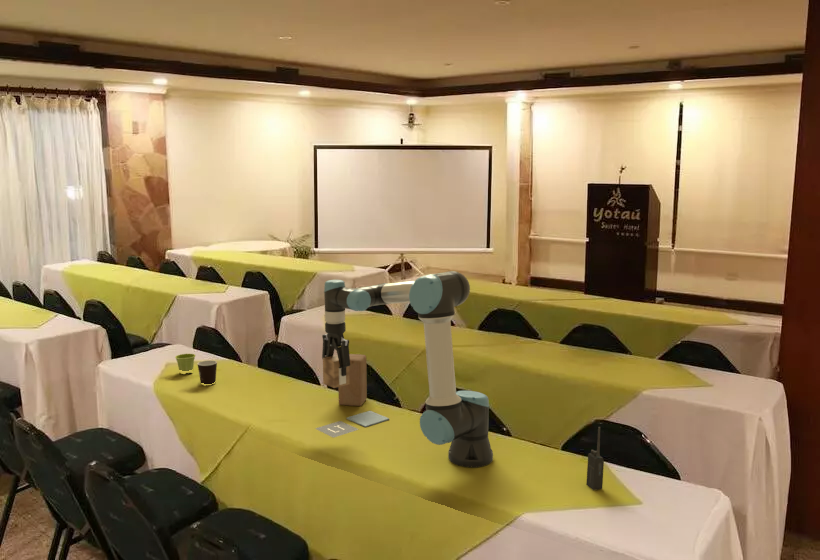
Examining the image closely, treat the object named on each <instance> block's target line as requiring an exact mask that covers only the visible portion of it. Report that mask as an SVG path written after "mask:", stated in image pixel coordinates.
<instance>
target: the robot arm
mask: <svg viewBox="0 0 820 560" xmlns="http://www.w3.org/2000/svg"><path fill="white" fill-rule="evenodd" d="M345 283H346V282H345V281H344V280H342V279H329V280H326V281H324V286H323V287H324V290H323V294H324V296H323V297H324V321H325V323H324V332H325V333H326V334H322V354H321V358H322V360H323V358H325V357H330V356H334V355H335V354H334V353H335V351H336V355H338V359H339V364H340V367H339V385H342V384H346V367H347V366H350V356H349V354H350V347H349V346H350V340H349V339H345V336H344V333H345V332H346V310H352V311H355V312H365V311H366V310H367V309H368V308H370V307H374V306H380V305H392V304H405V303H409V304H410V306H411V307H412V309H413V310H414V311H415V312H416V313H417V315H418V319H419V320H420V321H421V322H422V323H423V331H424V342H425V343H424V344H425V355H426V366H427V367H426V368H427V379H428V391H429V393H428V394H429V396H428V397H427V399H426V400H425V411H423V413H422V414H421V416H420V418H419V427H420V430H421V432H422V434H423V436H424V437H426V440H428V441H429V442H431V443H432V444H435V445H438V446H441V445H445V444H448V443H451V444H450V446H449V449H448V453H447V455H448V456H447V457H448V460H449V462H450V463H452V464H454V465H457V466H459V467H463V468H481V467H485V466H488V465H490V464H491V463H492V462H493V460H494V452H493V449H492V447H491V443H490V439H489V421H490V420H489V417H490V416H489V414H490V411H489V409H490V403H489V402H490V401H489V397H488V395H486V394H484V393H482V392H479V391H474V390H458V391H457V388H456V376H455V375H456V374H455V361H454V350H453V337H452V336H453V334H452V324H451V321H452V320H453V318H454V317H455V314H456V313H455V307H458V306H460V305H462V304H464V303H465V302H466V300H467V299H468V298H469V295H470V293H471V285H470V282H469V280H468V279H467V277H466V276H465V275H464V274H462V273H461V272H459V271H453V270H451V271H449V270H448V271H445V272H438V273H430V274H426V275H422V276H420V277H418V278H416V279H415V280H407V281H398V282H391V283H390V282H389V283H388V282H387V283H378V284H373V285H369V286H361V287H355V288H354V287H353V288H352V287H346V284H345Z"/></svg>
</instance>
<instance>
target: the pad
mask: <svg viewBox="0 0 820 560" xmlns="http://www.w3.org/2000/svg"><path fill="white" fill-rule="evenodd" d="M346 420H348V421H349V422H353V423H355V424H357V425H359V426H362V427H363V428H368V427H371V426H374V425H377V424H380V423H383V422H386V421H390V418H389V417H387V416H385V415H382V414H379V413H377V412H374V411H372V410H368V411H363V412H360V413H357V414H354V415H352V416H351V415H350V416H348V417H346Z"/></svg>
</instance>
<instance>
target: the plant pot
mask: <svg viewBox="0 0 820 560" xmlns="http://www.w3.org/2000/svg"><path fill="white" fill-rule="evenodd" d="M195 357H196V354H194V353H182V354H178V355H175V357H174V358H175V360H176V362H177V367H178V371H179V370H182V371H189V370H192V369H193V370H194V364H195V363H194V362H195Z"/></svg>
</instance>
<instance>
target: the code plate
mask: <svg viewBox="0 0 820 560" xmlns="http://www.w3.org/2000/svg"><path fill="white" fill-rule="evenodd" d="M314 429H315V430H317V431H319V432H320V433H323V434H325V435H327V436H329V437H331V438H337V437H340V436H343V435H346V434H349V433H353V432H356V431H359V430H360V428H357V427H354V426H352V425H351V424H348V423H346V422H344V421H341V420H338V421H335V422H331V423H329V424H324V425H322V426H318V427H315V428H314Z"/></svg>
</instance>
